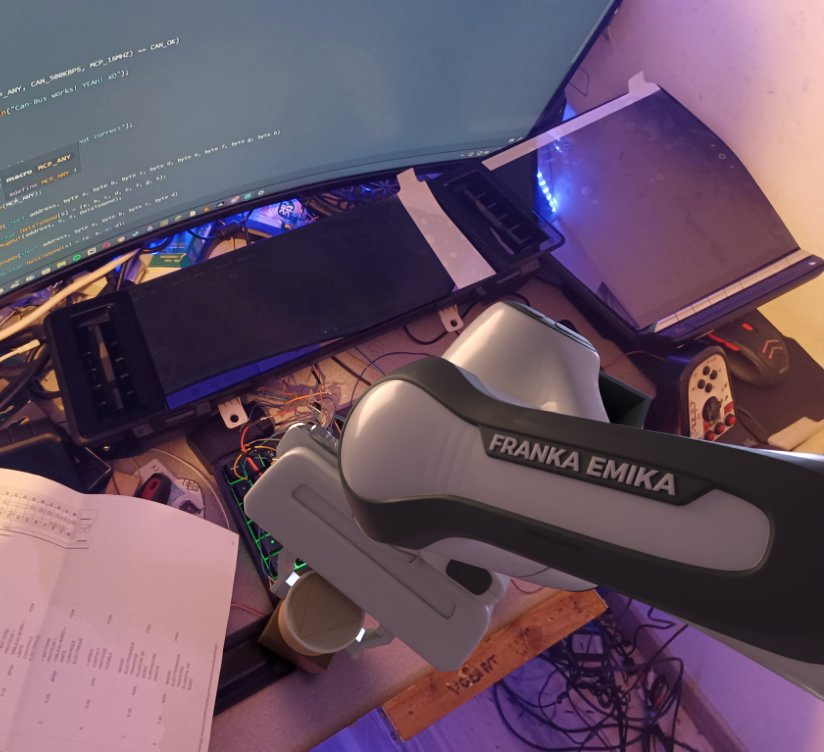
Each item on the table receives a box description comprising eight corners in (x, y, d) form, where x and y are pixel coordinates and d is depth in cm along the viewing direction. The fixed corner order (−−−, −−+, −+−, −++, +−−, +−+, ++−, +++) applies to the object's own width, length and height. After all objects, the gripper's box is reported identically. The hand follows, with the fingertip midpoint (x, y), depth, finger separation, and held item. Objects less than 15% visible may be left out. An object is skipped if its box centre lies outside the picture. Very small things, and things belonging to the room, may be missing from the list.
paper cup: (359, 604, 62) (379, 593, 55) (326, 671, 59) (342, 669, 52) (298, 569, 62) (309, 553, 55) (263, 634, 60) (269, 626, 53)
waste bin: (612, 424, 85) (652, 397, 77) (585, 497, 81) (624, 477, 73) (527, 379, 86) (559, 347, 78) (496, 449, 82) (526, 423, 74)
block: (339, 617, 72) (359, 605, 62) (310, 673, 69) (326, 671, 59) (287, 586, 72) (298, 570, 62) (257, 642, 70) (264, 634, 60)
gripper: (284, 421, 50) (195, 555, 55) (525, 608, 48) (408, 732, 53) (314, 399, 56) (231, 523, 61) (531, 565, 53) (424, 680, 58)
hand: (314, 621), depth 57 cm, fingers closed on paper cup, 6 cm apart
